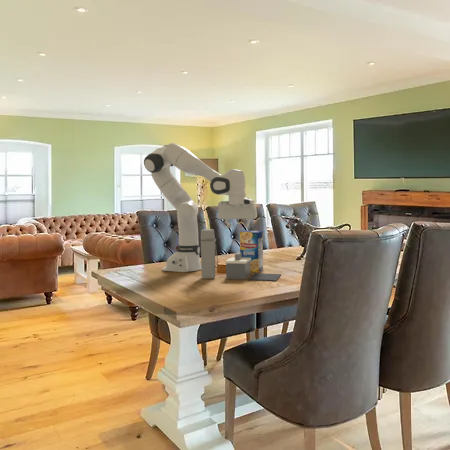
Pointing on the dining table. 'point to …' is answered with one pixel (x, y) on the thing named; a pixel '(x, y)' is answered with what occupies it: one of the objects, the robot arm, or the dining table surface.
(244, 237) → the beverage box
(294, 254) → the dining table surface
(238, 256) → the lid
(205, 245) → the water bottle
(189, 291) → the dining table surface
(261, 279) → the mat
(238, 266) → the storage box
